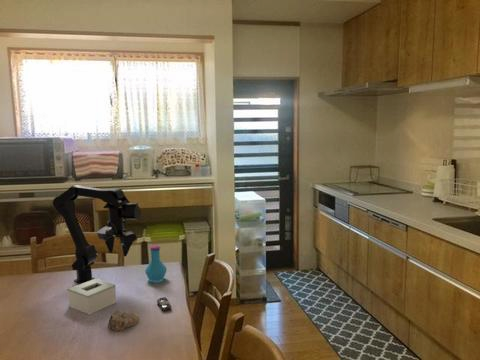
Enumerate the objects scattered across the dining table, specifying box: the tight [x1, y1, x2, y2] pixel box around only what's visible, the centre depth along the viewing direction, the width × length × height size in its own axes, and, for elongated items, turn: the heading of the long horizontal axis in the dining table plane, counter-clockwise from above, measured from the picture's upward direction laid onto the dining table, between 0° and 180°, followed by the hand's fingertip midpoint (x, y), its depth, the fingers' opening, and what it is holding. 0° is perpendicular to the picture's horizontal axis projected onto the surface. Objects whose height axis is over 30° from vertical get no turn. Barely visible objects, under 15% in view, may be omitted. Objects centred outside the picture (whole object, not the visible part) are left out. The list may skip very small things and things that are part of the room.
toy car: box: [156, 294, 172, 312], centre depth 149 cm, size 4×12×8 cm, turn 28°
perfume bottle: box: [144, 245, 168, 283], centre depth 174 cm, size 9×9×15 cm
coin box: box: [67, 278, 117, 315], centre depth 151 cm, size 12×12×7 cm
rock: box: [107, 310, 140, 332], centre depth 134 cm, size 9×6×10 cm
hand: (118, 254), depth 169 cm, fingers open, 9 cm apart
